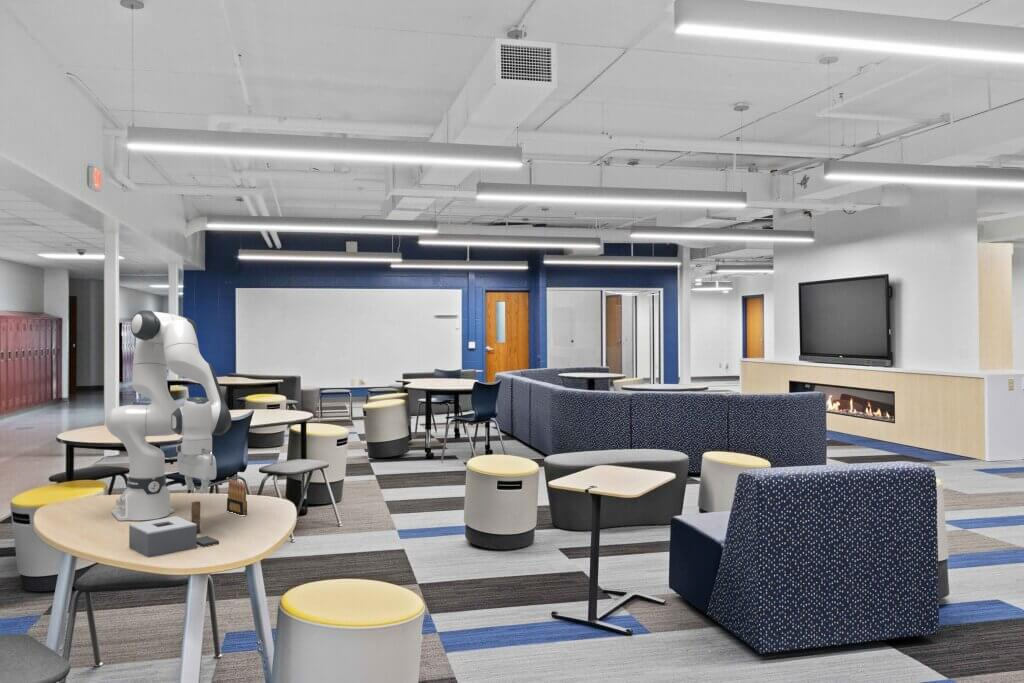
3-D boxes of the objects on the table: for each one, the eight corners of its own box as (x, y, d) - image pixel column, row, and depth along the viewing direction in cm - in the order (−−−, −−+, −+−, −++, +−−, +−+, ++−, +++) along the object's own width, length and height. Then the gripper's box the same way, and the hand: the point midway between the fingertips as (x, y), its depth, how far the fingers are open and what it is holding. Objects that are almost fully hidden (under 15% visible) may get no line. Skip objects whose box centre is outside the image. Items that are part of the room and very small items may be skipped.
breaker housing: (129, 547, 223) (129, 524, 223) (176, 538, 234) (176, 516, 234) (148, 557, 214) (148, 532, 214) (196, 547, 224) (196, 524, 224)
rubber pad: (191, 542, 230) (191, 538, 230) (207, 539, 234) (207, 535, 234) (202, 547, 225) (202, 543, 225) (219, 544, 228) (219, 540, 228)
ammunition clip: (226, 511, 270) (226, 478, 270) (231, 511, 271) (231, 478, 271) (242, 516, 263) (242, 482, 263) (247, 515, 264) (247, 481, 264)
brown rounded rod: (189, 533, 240) (190, 502, 240) (197, 531, 242) (198, 501, 242) (193, 534, 238) (193, 503, 238) (201, 533, 240) (201, 502, 240)
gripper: (222, 449, 235) (221, 494, 235) (193, 444, 249) (192, 486, 249) (202, 451, 231) (201, 496, 230) (173, 446, 244) (173, 488, 244)
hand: (196, 491), depth 240 cm, fingers open, 8 cm apart
